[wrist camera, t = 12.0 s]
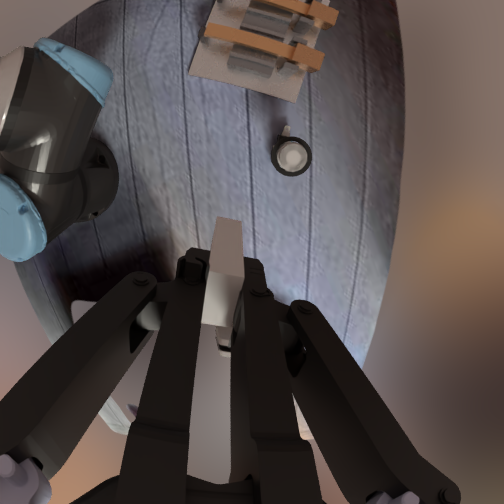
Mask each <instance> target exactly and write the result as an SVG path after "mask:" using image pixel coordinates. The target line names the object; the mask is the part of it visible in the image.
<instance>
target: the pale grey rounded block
mask: <svg viewBox="0 0 504 504" xmlns="http://www.w3.org/2000/svg"><path fill="white" fill-rule="evenodd" d="M232 329H233V327H231V328H229V327H223V326H217V327H216V335H217V337H216V341H217V346H218V350H219V354H220V355H221V356H224V357H230V358H231V346H230V347H228V344H229V340H230V336H231V333H232Z"/></svg>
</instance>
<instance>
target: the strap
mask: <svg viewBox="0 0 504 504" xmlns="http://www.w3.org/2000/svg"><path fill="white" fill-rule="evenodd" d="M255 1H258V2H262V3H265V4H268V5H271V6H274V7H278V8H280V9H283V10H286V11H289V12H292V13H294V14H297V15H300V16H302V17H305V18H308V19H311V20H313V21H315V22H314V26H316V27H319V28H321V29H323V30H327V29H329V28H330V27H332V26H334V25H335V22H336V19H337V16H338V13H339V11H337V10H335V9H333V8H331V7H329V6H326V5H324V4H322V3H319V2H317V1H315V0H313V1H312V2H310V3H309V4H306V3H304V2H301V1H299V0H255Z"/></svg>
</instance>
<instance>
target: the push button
mask: <svg viewBox="0 0 504 504" xmlns="http://www.w3.org/2000/svg"><path fill="white" fill-rule="evenodd" d="M286 128H288V130H286ZM289 132H290V126H284V131H283V132H282V135H278V138H277V143H276V144H275V145H273V149H272V153H271V160H272V161H271V162H272V163H273V165H274V167H275V168H276V170H277V171H278V172H280V173H281V174H283V175H285V176H298V175H300V174H302V173H304V172H305V171H306V170H307V169H308V168H309V166H310V164H311V160H312V153H311V149H310V147H309V146H308V144H307V143H306V142H305V141H304V140H302V139H300V138H297V137H289V136H290V133H289ZM292 141H296V142H298V143H299V144H298V143H296V142H292ZM280 166H281V167H282V168H281V167H280Z"/></svg>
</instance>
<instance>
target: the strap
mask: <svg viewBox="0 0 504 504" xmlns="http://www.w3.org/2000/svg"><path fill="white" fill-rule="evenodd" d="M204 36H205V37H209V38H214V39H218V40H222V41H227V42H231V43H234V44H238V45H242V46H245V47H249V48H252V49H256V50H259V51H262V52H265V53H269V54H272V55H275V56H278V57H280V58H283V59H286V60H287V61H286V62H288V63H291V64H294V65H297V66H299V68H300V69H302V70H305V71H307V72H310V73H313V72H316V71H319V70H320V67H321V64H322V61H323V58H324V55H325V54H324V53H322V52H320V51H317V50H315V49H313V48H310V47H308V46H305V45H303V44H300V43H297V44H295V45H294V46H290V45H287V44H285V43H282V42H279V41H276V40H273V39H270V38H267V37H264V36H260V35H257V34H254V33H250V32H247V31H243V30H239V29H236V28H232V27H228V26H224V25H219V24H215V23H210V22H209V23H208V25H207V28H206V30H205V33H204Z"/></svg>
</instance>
